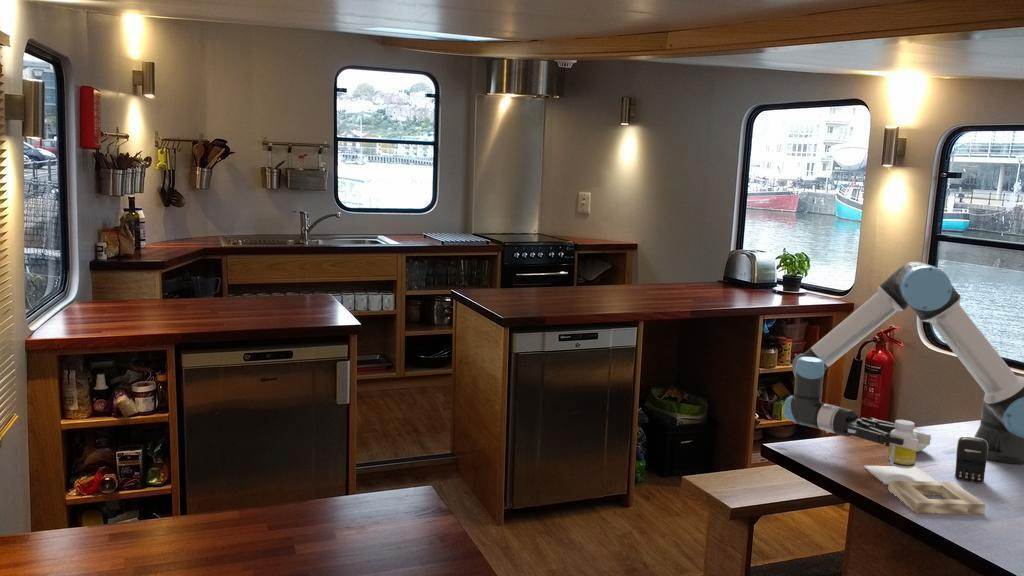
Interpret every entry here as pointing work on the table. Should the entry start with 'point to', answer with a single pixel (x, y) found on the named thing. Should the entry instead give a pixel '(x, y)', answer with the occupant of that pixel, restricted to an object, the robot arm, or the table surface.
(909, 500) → the holder
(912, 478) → the pad
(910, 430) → the pill bottle
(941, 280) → the robot arm
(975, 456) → the battery charger
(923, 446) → the cell model
